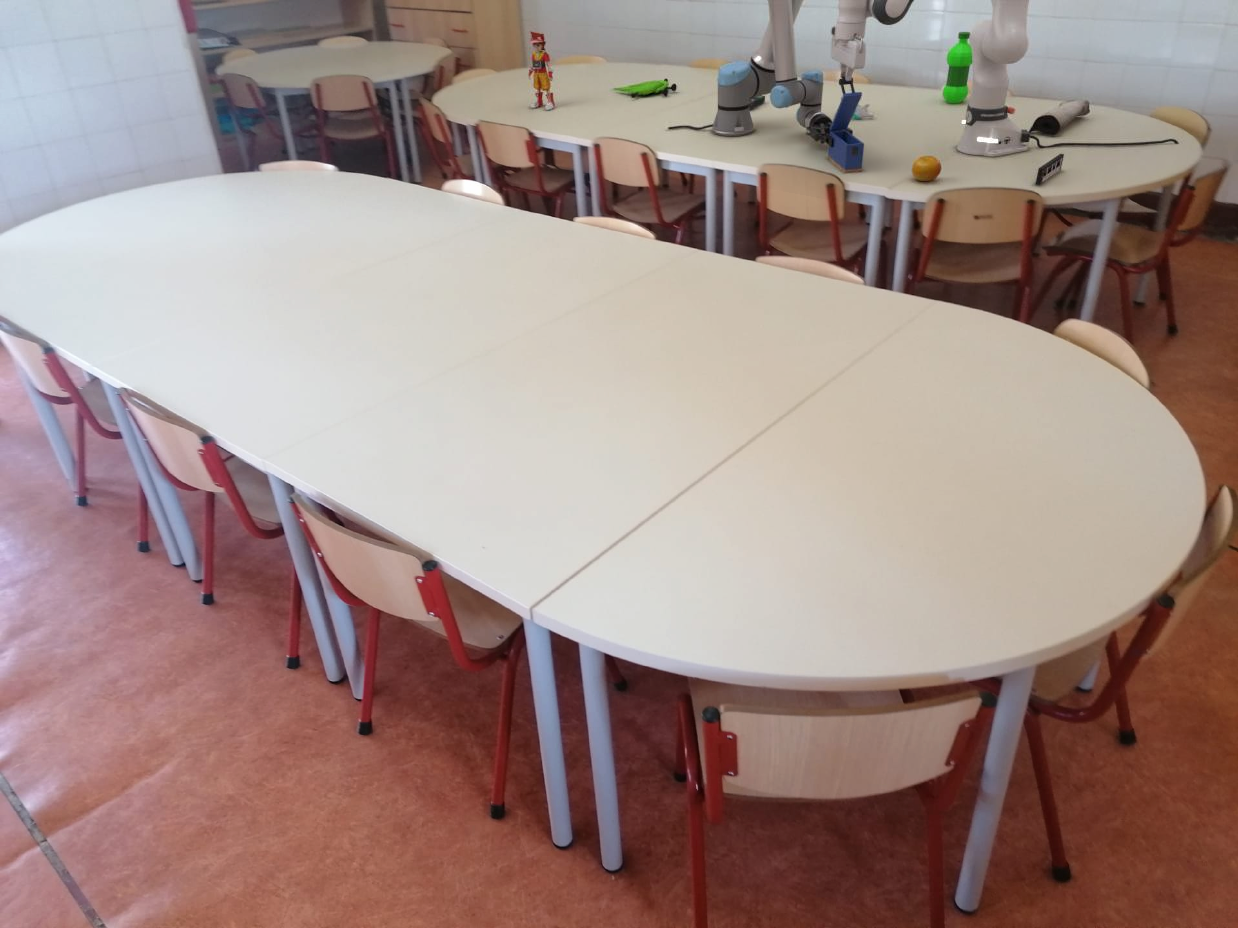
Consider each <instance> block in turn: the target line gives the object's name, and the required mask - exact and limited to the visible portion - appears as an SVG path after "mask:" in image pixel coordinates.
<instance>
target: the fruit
mask: <svg viewBox="0 0 1238 928" xmlns="http://www.w3.org/2000/svg"><path fill="white" fill-rule="evenodd" d="M941 171H942V163H941V161H940V160H939V159H938V158H936V157H935V156H933V155H923V156H920V157H918V158H917V159H915V160H914V161H913V163H912V166H911V174H912V176H913V177H914V179H916V180H917V181H921V182H931V181H934V180H935V179H936V178H937V177H938V176H939V175H940V174H941Z"/></svg>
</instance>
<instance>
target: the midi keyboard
mask: <svg viewBox="0 0 1238 928" xmlns="http://www.w3.org/2000/svg"><path fill="white" fill-rule="evenodd" d="M1064 157H1065V153H1059V154H1058V155H1056V156H1055V157H1052V159H1051V160H1049V161H1047V162H1045V164H1042V165H1041V166H1039V167H1038V169H1037V175H1036V179H1035V186H1040V185H1042V183H1044V182H1045V181H1047V180H1048V179H1049V178H1051V177H1052V176H1054V175H1055V174H1056V173H1058V172H1060V171H1061V170H1062V165H1063V161H1064Z"/></svg>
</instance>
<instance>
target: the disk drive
mask: <svg viewBox="0 0 1238 928" xmlns="http://www.w3.org/2000/svg"><path fill="white" fill-rule="evenodd" d="M765 102H766V95H761V96H757V97H753V98H749V111H750V110H752V109H755V108H757V107H758V106H760V105H762V104H763V103H765Z"/></svg>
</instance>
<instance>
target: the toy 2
mask: <svg viewBox="0 0 1238 928" xmlns="http://www.w3.org/2000/svg"><path fill="white" fill-rule="evenodd" d="M669 85H670V83H669V79H668V78H664V79H663V80H649V81H644V82H640V83H634V84H629V85H627V86H621V87H613V88H612V89H613V90H616V91H619V92H623V93H627V94H628V93H629V94H631V95H630V96H631V98H632V99H634V98H636V96H637V95H650V94H652V93H654V94H658V93H662V95H663V96H665V97H667V96H668V95H669V90H671V91H672V92H676V91H677V84H676V83H672V84H671V86H669Z"/></svg>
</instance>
